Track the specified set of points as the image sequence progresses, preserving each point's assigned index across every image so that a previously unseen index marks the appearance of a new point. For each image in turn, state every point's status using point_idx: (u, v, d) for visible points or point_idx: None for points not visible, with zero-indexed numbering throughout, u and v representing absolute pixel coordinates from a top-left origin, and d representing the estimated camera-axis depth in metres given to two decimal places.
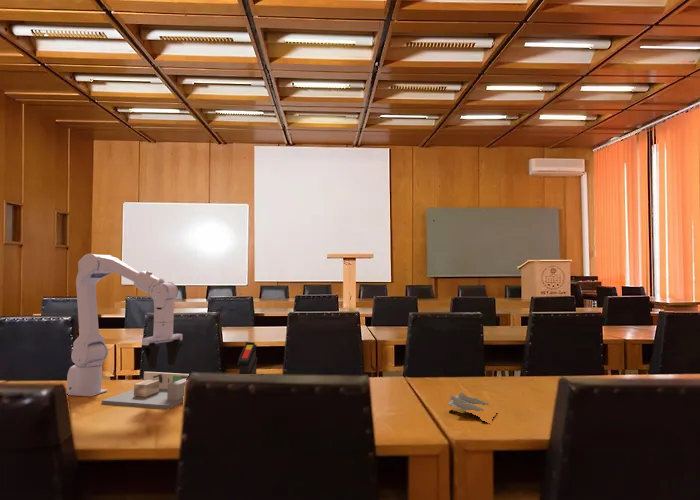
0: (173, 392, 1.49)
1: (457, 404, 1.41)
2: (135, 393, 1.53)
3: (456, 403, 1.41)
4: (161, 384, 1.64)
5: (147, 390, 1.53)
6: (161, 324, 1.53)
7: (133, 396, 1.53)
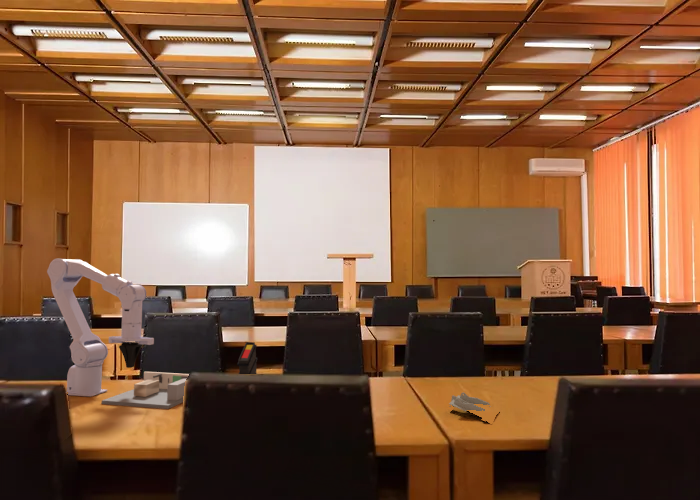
0: (173, 392, 1.49)
1: (458, 404, 1.41)
2: (135, 393, 1.53)
3: (457, 403, 1.41)
4: (161, 384, 1.64)
5: (147, 390, 1.53)
6: None
7: (133, 396, 1.53)
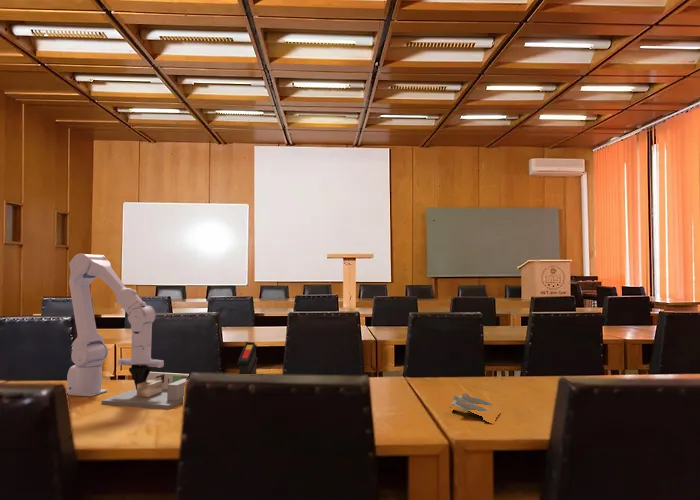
0: (173, 392, 1.49)
1: (460, 404, 1.41)
2: (138, 393, 1.53)
3: (459, 403, 1.41)
4: None
5: (150, 390, 1.53)
6: (131, 347, 1.56)
7: (133, 396, 1.53)
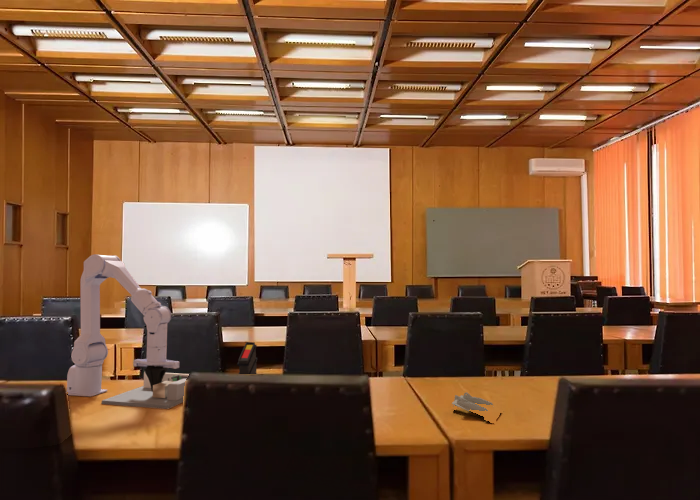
0: (173, 392, 1.49)
1: (461, 404, 1.41)
2: (154, 394, 1.52)
3: (460, 403, 1.41)
4: None
5: (166, 391, 1.52)
6: None
7: (133, 396, 1.53)
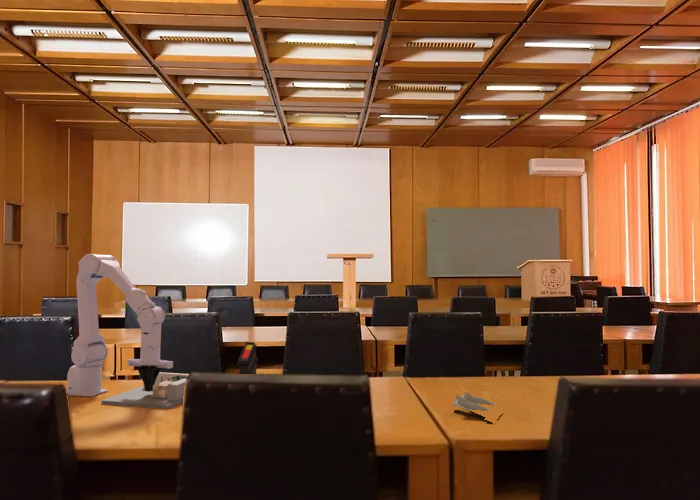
0: (173, 392, 1.49)
1: (462, 404, 1.41)
2: (154, 394, 1.52)
3: (461, 403, 1.41)
4: None
5: (166, 391, 1.52)
6: None
7: (133, 396, 1.53)
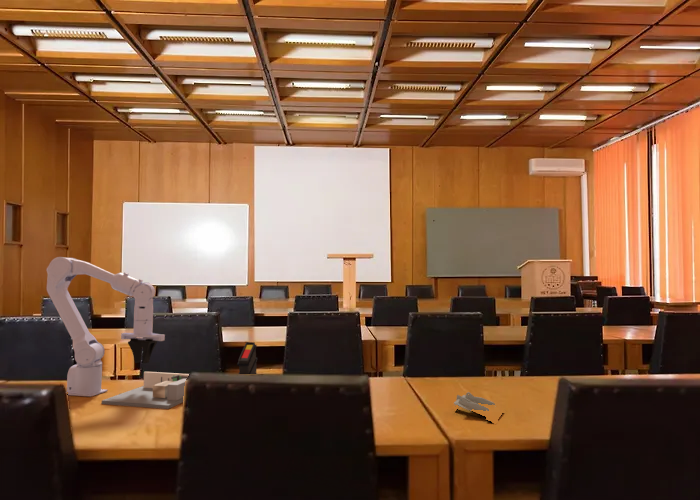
0: (173, 392, 1.49)
1: (463, 404, 1.41)
2: (154, 394, 1.52)
3: (462, 403, 1.41)
4: None
5: (166, 391, 1.52)
6: None
7: (133, 396, 1.53)
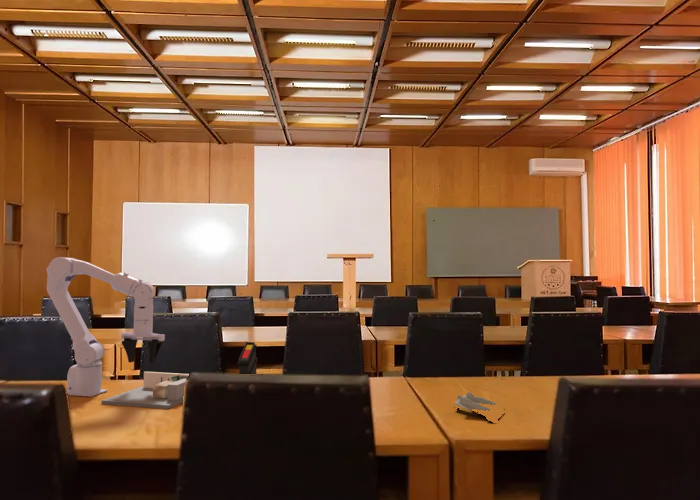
0: (173, 392, 1.49)
1: (463, 404, 1.41)
2: (154, 394, 1.52)
3: (462, 403, 1.42)
4: None
5: (166, 391, 1.52)
6: None
7: (133, 396, 1.53)
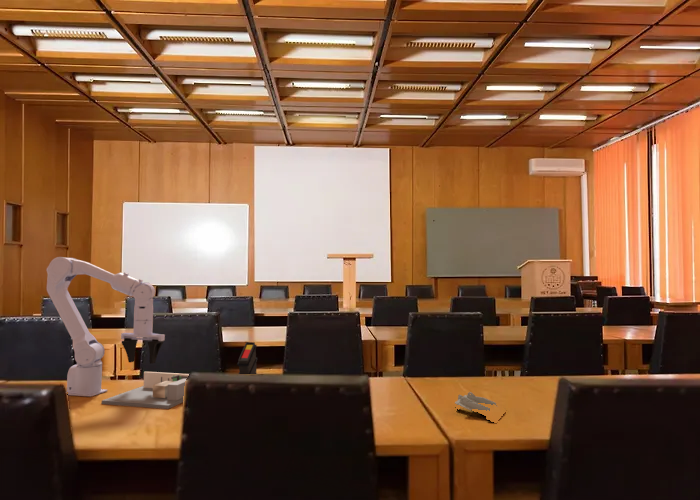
0: (173, 392, 1.49)
1: (464, 403, 1.42)
2: (154, 394, 1.52)
3: (463, 402, 1.42)
4: None
5: (166, 391, 1.52)
6: None
7: (133, 396, 1.53)
